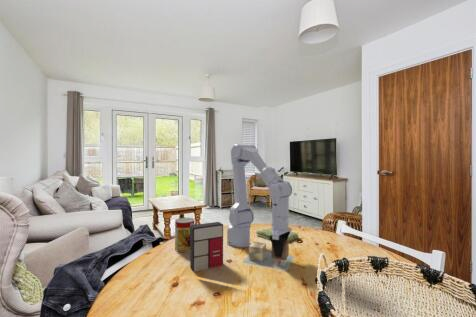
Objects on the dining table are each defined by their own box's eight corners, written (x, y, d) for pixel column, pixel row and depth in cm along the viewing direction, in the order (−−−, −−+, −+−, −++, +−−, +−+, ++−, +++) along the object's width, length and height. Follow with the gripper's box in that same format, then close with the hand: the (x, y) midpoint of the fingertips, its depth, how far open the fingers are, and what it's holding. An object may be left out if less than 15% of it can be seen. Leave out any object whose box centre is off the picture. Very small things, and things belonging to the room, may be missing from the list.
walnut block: (271, 257, 82) (271, 243, 82) (275, 252, 87) (275, 239, 87) (285, 260, 80) (285, 245, 80) (288, 254, 85) (288, 241, 85)
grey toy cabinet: (193, 274, 76) (193, 228, 76) (189, 269, 80) (189, 225, 80) (224, 267, 81) (224, 224, 81) (219, 262, 85) (219, 221, 85)
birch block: (248, 259, 85) (249, 246, 85) (253, 254, 90) (253, 241, 90) (262, 262, 83) (262, 248, 83) (266, 256, 88) (266, 243, 88)
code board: (242, 264, 83) (242, 262, 83) (254, 251, 95) (254, 249, 95) (286, 273, 77) (287, 270, 77) (293, 258, 89) (293, 255, 89)
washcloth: (271, 231, 124) (271, 225, 124) (300, 239, 111) (300, 232, 111) (254, 236, 115) (254, 229, 116) (283, 246, 102) (283, 239, 102)
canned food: (196, 250, 97) (196, 221, 97) (177, 253, 93) (177, 223, 93) (191, 243, 104) (191, 216, 104) (173, 246, 100) (173, 218, 100)
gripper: (287, 221, 75) (287, 263, 75) (295, 212, 89) (294, 248, 89) (266, 219, 78) (266, 260, 78) (276, 210, 91) (276, 245, 91)
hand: (280, 253), depth 83 cm, fingers closed on walnut block, 5 cm apart
